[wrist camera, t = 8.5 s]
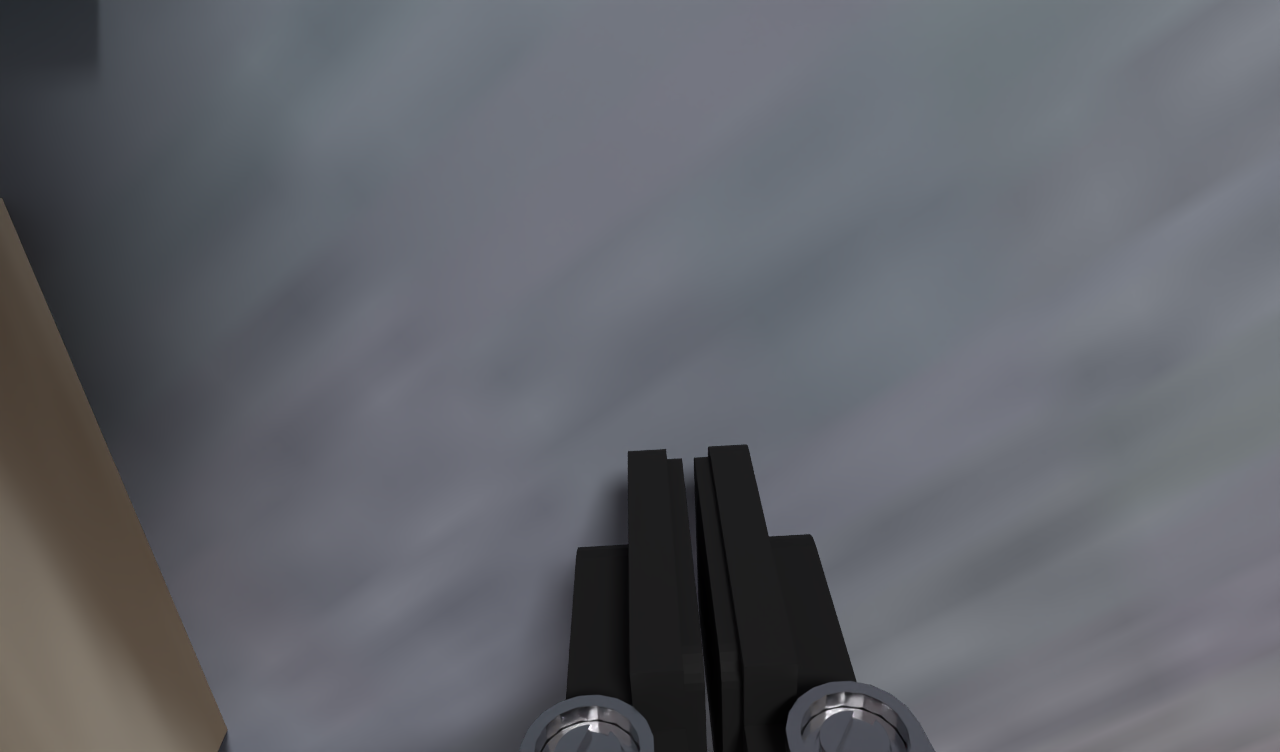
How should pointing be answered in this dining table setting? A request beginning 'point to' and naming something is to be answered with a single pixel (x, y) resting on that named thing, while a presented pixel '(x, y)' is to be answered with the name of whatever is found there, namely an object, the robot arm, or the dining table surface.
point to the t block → (78, 565)
